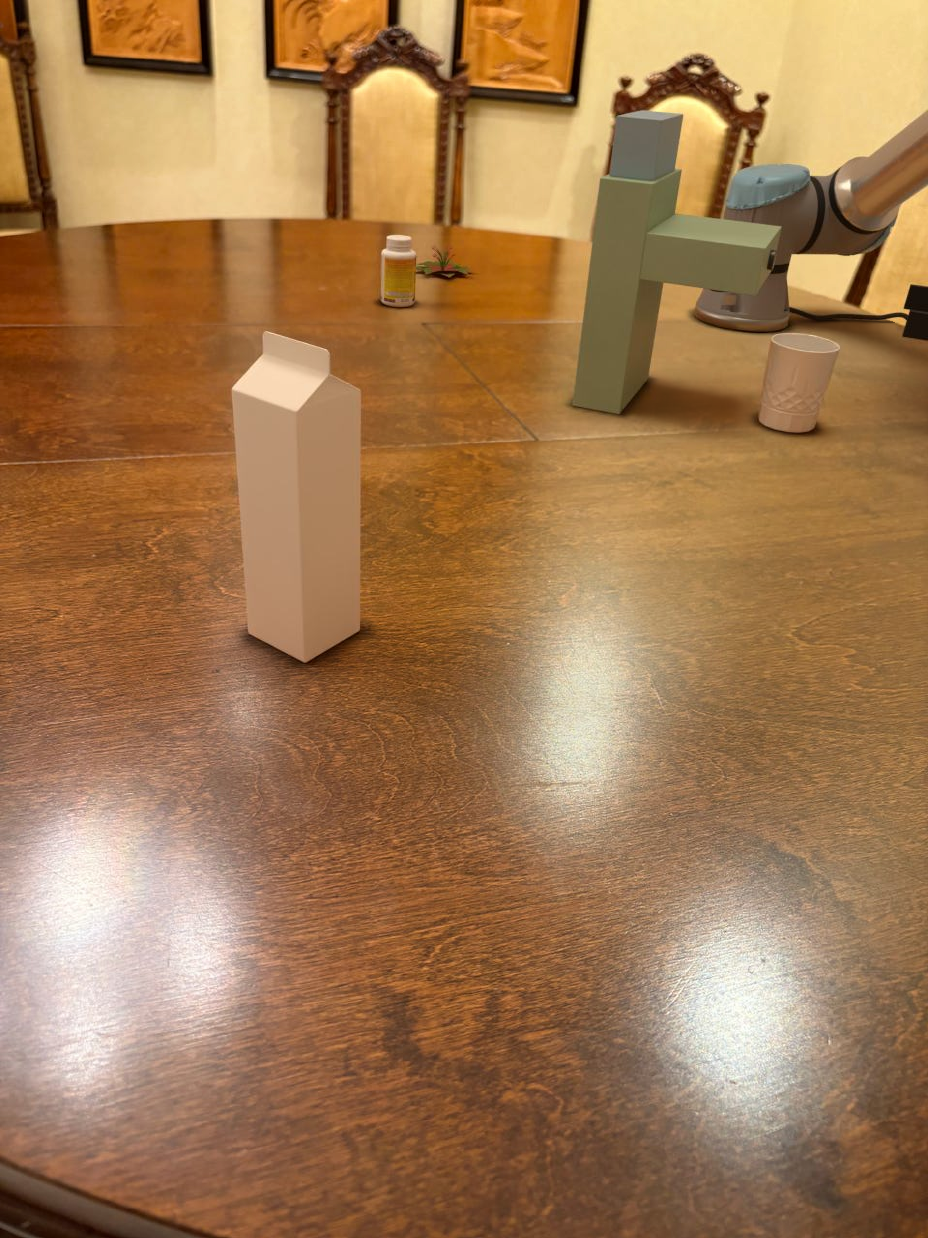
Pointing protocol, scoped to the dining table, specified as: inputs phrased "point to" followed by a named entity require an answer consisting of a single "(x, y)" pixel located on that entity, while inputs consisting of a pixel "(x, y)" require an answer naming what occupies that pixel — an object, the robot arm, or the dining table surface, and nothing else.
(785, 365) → the beige cup
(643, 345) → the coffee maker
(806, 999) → the dining table surface
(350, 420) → the milk
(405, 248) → the supplement bottle
